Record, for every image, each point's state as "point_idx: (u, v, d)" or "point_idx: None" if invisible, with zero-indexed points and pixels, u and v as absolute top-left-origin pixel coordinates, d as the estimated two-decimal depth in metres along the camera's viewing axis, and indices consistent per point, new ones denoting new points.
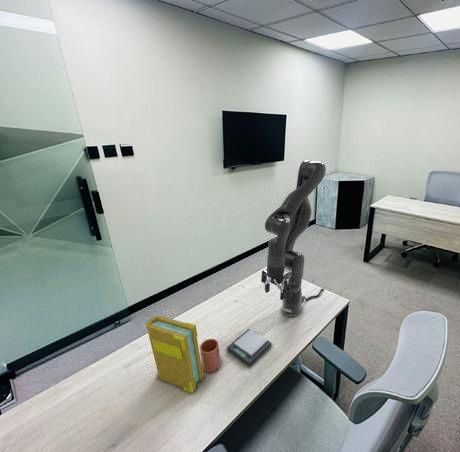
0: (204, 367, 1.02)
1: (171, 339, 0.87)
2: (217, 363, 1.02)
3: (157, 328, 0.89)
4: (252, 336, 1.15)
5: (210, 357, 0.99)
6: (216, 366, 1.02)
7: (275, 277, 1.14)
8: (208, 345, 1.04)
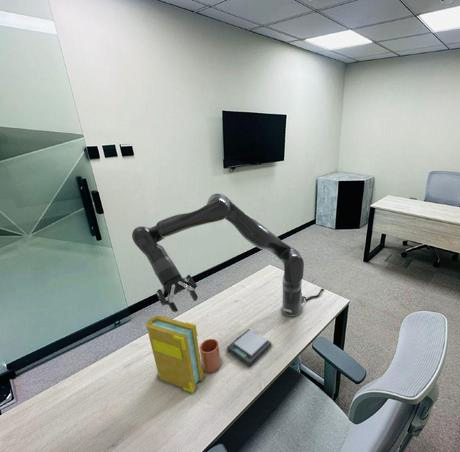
0: (204, 367, 1.02)
1: (171, 339, 0.87)
2: (217, 363, 1.02)
3: (157, 328, 0.89)
4: (252, 336, 1.15)
5: (210, 357, 0.99)
6: (216, 366, 1.02)
7: None
8: (208, 345, 1.04)
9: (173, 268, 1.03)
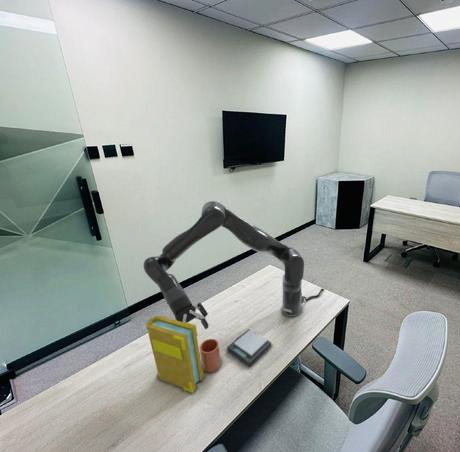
0: (204, 367, 1.02)
1: (171, 339, 0.87)
2: (217, 363, 1.02)
3: (157, 328, 0.89)
4: (252, 336, 1.15)
5: (210, 357, 0.99)
6: (216, 366, 1.02)
7: None
8: (208, 345, 1.04)
9: (184, 297, 1.05)
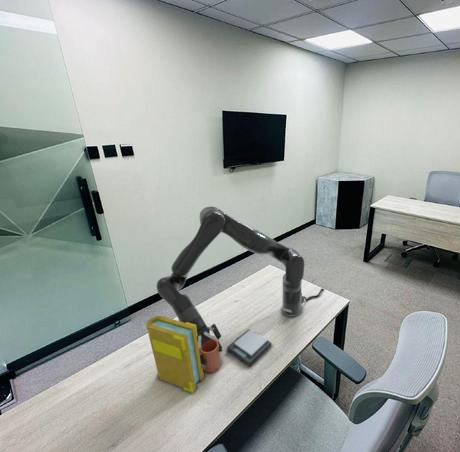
0: (204, 367, 1.02)
1: (171, 339, 0.87)
2: (217, 363, 1.02)
3: (157, 328, 0.89)
4: (252, 336, 1.15)
5: (210, 357, 0.99)
6: (216, 366, 1.02)
7: None
8: (208, 345, 1.04)
9: (199, 319, 1.03)
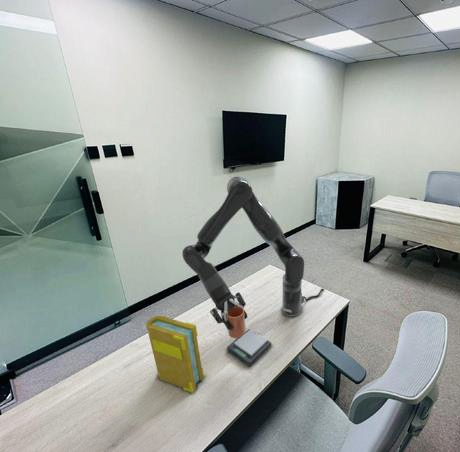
0: (230, 333, 1.03)
1: (171, 339, 0.87)
2: (243, 329, 1.04)
3: (157, 328, 0.89)
4: (252, 336, 1.15)
5: (237, 322, 1.00)
6: (242, 332, 1.03)
7: None
8: (233, 312, 1.06)
9: (224, 286, 1.04)
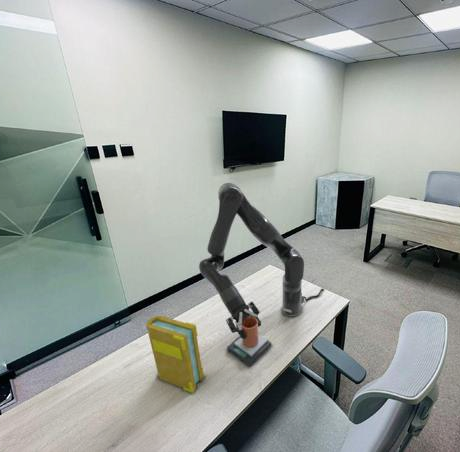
0: (244, 343, 1.09)
1: (171, 339, 0.87)
2: (256, 339, 1.10)
3: (157, 328, 0.89)
4: None
5: (251, 332, 1.06)
6: (255, 342, 1.09)
7: None
8: (247, 323, 1.12)
9: (239, 296, 1.10)
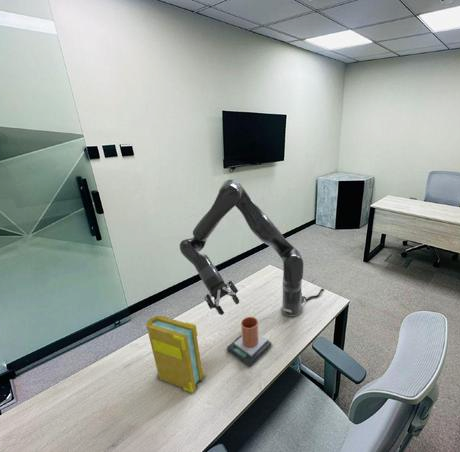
0: (244, 343, 1.09)
1: (171, 339, 0.87)
2: (256, 339, 1.10)
3: (157, 328, 0.89)
4: None
5: (251, 332, 1.06)
6: (255, 342, 1.09)
7: None
8: (247, 323, 1.12)
9: (218, 275, 1.15)
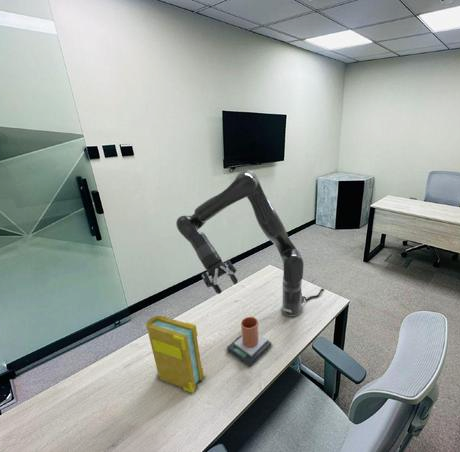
0: (244, 343, 1.09)
1: (171, 339, 0.87)
2: (256, 339, 1.10)
3: (157, 328, 0.89)
4: None
5: (251, 332, 1.06)
6: (255, 342, 1.09)
7: None
8: (247, 323, 1.12)
9: (215, 253, 1.11)
